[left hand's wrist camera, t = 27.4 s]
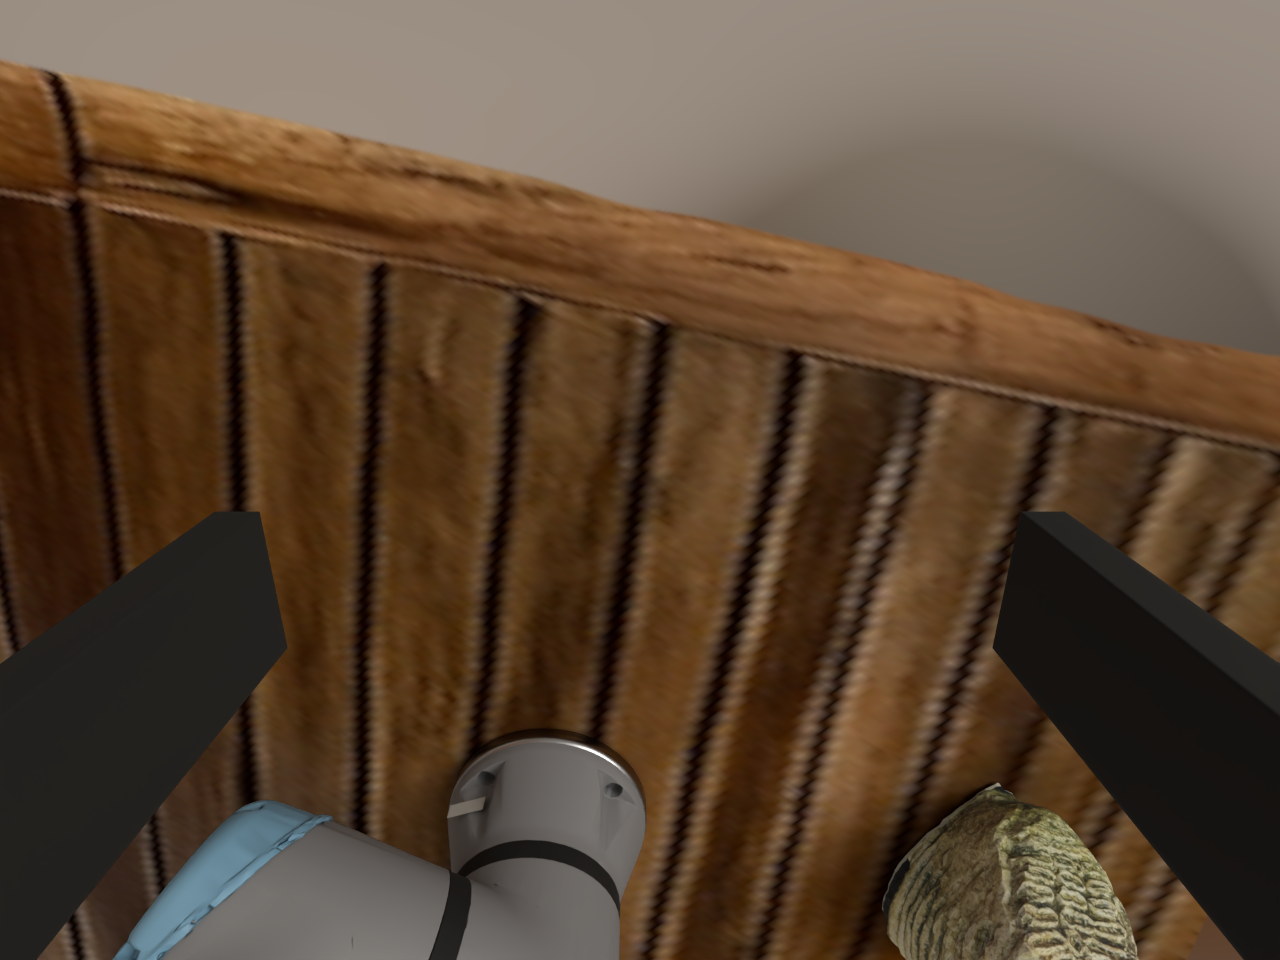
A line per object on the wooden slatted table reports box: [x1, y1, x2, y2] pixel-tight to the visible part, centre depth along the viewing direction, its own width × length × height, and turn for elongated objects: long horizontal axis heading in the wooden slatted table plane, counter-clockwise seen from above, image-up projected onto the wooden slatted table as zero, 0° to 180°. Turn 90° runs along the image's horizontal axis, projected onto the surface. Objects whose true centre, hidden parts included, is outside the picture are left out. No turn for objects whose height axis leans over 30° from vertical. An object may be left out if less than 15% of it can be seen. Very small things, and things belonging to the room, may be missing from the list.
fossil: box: [882, 783, 1139, 960], centre depth 51 cm, size 9×18×15 cm, turn 164°
